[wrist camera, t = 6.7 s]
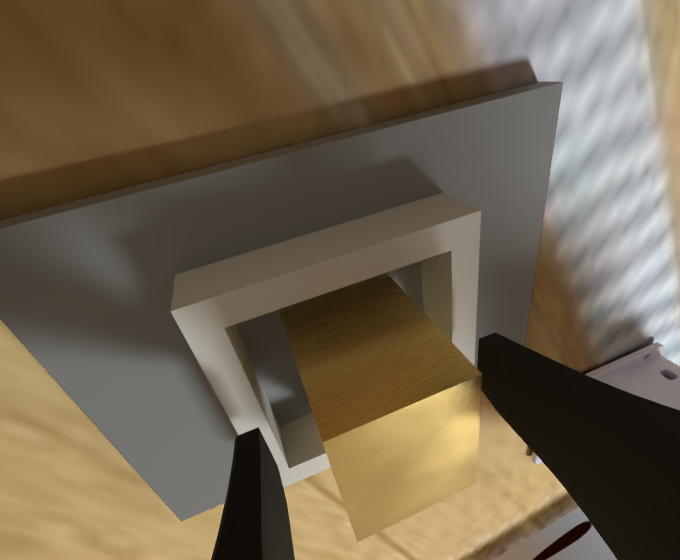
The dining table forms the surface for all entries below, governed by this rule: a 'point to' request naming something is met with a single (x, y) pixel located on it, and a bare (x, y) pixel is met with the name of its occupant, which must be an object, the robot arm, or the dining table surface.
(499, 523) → the dining table surface
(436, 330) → the tan rectangular block
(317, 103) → the dining table surface
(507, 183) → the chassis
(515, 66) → the dining table surface
